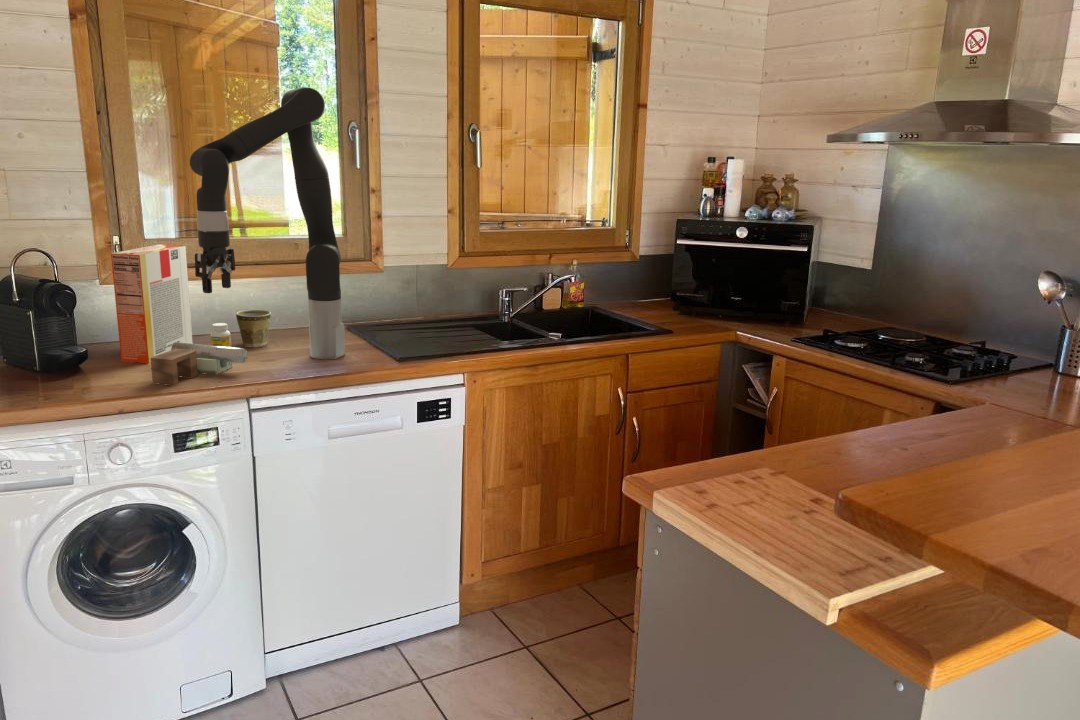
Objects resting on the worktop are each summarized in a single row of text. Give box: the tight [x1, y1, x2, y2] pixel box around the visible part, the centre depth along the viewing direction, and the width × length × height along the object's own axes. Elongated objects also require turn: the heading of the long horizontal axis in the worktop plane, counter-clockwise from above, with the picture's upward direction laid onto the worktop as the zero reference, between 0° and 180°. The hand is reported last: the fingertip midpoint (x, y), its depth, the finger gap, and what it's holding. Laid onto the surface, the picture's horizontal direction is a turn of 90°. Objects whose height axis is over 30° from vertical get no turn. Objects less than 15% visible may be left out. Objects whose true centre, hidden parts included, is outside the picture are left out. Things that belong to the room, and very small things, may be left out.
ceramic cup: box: [235, 309, 272, 348], centre depth 240 cm, size 13×10×10 cm
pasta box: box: [110, 243, 194, 364], centre depth 223 cm, size 23×8×30 cm, turn 175°
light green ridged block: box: [197, 358, 233, 376], centre depth 212 cm, size 10×8×4 cm
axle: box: [171, 342, 248, 364], centre depth 211 cm, size 20×4×4 cm, turn 79°
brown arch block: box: [150, 349, 199, 386], centre depth 201 cm, size 6×10×7 cm, turn 169°
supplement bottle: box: [210, 322, 232, 347], centre depth 224 cm, size 5×5×10 cm
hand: (217, 290), depth 206 cm, fingers open, 8 cm apart
